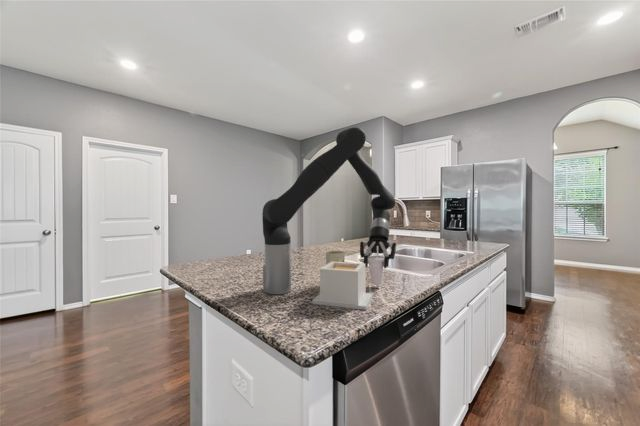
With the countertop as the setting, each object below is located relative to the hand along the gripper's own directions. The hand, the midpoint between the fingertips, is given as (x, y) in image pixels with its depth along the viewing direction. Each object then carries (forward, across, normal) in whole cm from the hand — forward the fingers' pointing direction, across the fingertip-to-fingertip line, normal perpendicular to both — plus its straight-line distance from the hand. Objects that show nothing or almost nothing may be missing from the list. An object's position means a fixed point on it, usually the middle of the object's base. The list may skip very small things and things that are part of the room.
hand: (375, 266), depth 100 cm
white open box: (+17, -8, -5) cm, 19 cm away
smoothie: (+4, 0, +6) cm, 7 cm away
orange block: (+15, -8, -7) cm, 18 cm away
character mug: (+7, -15, +5) cm, 17 cm away
